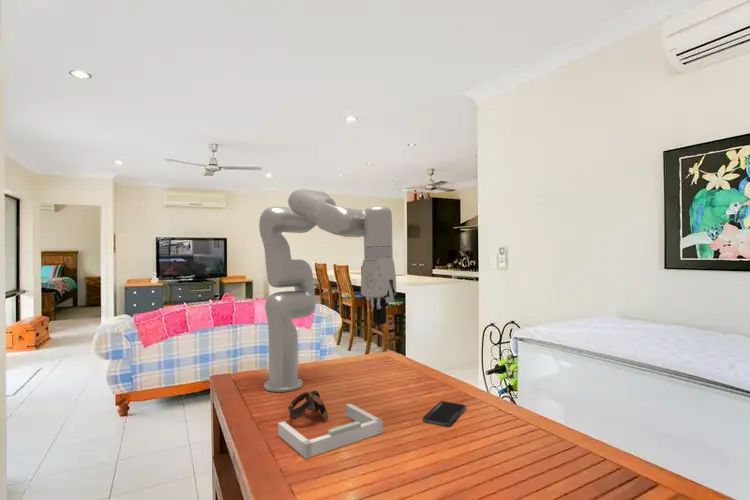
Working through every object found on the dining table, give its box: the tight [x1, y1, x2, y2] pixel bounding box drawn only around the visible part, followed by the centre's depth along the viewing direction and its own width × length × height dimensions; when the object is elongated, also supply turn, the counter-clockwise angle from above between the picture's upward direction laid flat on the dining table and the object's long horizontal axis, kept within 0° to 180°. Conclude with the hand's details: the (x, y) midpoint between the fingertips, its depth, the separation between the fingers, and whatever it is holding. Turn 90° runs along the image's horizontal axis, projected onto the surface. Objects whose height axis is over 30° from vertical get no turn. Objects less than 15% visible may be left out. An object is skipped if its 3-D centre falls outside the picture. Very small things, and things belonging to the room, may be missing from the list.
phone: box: [422, 400, 467, 428], centre depth 112 cm, size 8×1×15 cm
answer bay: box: [277, 403, 384, 460], centre depth 100 cm, size 14×21×4 cm
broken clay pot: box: [287, 390, 329, 423], centre depth 110 cm, size 12×10×8 cm
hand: (379, 323), depth 108 cm, fingers closed
